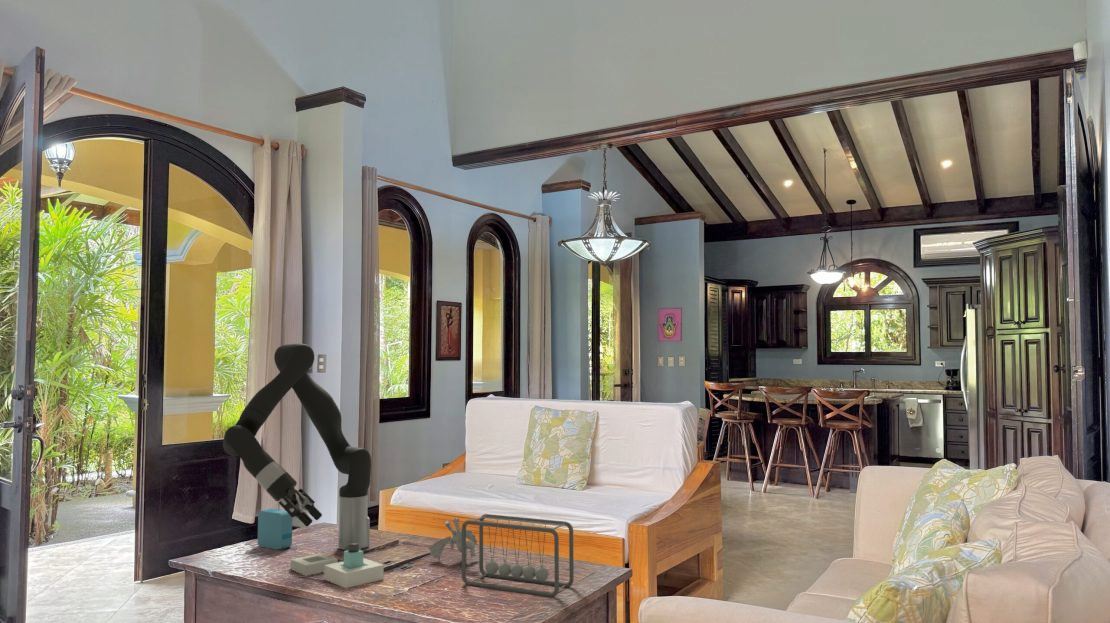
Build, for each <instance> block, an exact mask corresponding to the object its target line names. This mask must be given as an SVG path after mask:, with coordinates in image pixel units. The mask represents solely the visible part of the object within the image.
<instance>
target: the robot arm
mask: <svg viewBox="0 0 1110 623" xmlns="http://www.w3.org/2000/svg"><path fill="white" fill-rule="evenodd" d="M273 358H274V360H273V361H274V364H275V366H276V368H277V370H278V371H279V373H278V374H277V375H276V376H275V377H274V378H273V379H272V380H270V381H269V382H268V383H266V384H265V386H263V387H262V388H260V389H259V390H258V391H257V392H256V393H255V394H254V395H253V397H252V398H251V399H250V401H249V402H248V403H247V405H246V406H245V407H244V409H243V410H242V412H241V414H240V416H239V418H238V420H237V422H236V423H235V424H234V425H231V426H229V428H228V429H227V430H226V431H225V432H224V436H223V442H222V447H223V450H224V452H225V453H226V454H227V455H230V456H233V457H234V456H238V457H239V458H240V459H241V461H242V463H243V466H244V468H245V469H246V470H247V472H249V474H250V475H252V477H253V478H254V479H255V481H257V483H258V484H259V485H260V486H261V488H262V489H263V490H265V492H266V493H268V495H269V496H270V497H271V499H274V501H275V502H278V504H279V506H280V507H281V508H283V510H285V511H287V513H288V514H289V515H290V516H291V517H292V518H297V519H298V520H299V521H300V522H301V523H302V524H303V525H304V526H305V527H309V526H310V525H311V524H312V523H313V519H314V520H315V521H318V520H319V519H321V517H323V514H322V512H320V510H319V509H318V508H316V507H315V500H314V499H313V498H312V497H311V496H309V494H307V493H306V491H305V490H303V489H302V488H300V489H298V490H297V489H296V488H295V487H296V486H297V485H298V483H297V481H296V480H295V479H294V478H293V477H292V475H290V473H289V472H287V470H286V469H285V468H284V467H283V466H282V465H280V463H278V462H277V461H276V460H275V459H274V458H273V457H272V456H271V455H270V454H269V453H268V452H267V451H265V449H264V448H263V447H262V444H260V442H259V441H258V439H257V438H256V436H257V433H258V432H259V430H260V429H261V427H262V426H263V425H264V424H265V422H266V421H267V419H268V418H269V417H270V415H271V414H272V413H273V411H274V410H275V408H276V407H277V405H278V404H279V403H280V401H282V399H283V398H284V397H285V396H286V394H287V393H288V392H289V391H290V390H291V389H292V390H293V392H294V394H295V395H296V397H297V398H298V400H299V401H300V404H301V405H302V406H303V409H304V411H305V412H306V414H307V416H308V418H309V419H310V420H311V422H312V424H313V426H314V427H315V428H316V431H317V432H318V435H319V437H321V439H322V440H323V443H324V445H325V446H326V448H327V451H328V453H329V455H330V458H331V459H332V462H333V465H334V466H335V468H336V469H337V471H338V472H339V473H341V474H343V475H348V478H347V482H346V484H345V485H342V486H340V488H339V490H338V491H339V492H338V494H339V497H338V498H339V500H338V549H339V550H341V549H342V551H347V550H348V544H350V543H359V550H362V548H363V549H366V548H367V547H370V540H371V538H370V537H371V536H370V532H371V531H370V529H371V528H370V526H371V524H370V521H371V519H370V517H369V516H368V495H369V494H368V492H369V487H370V485H371V474H372V457H371V454H370V452H369V450H368V449H366V448H363V447H356V446H351V444H350V443H349V441H348V440H347V439H346V437H345V434H343V431H342V414H341V411H340V409H339V407H338V404H336V402H335V400H334V398H333V397H332V396H331V394H330V393H329V392H328V391H326V389H324V387H322V386H321V385H320V384H319V383H317V382H316V380H315V381H314V379H313V378H312V377H311V376H310V375H309V373H308V371H309V370H311V368H312V366H313V364H314V362H315V352H314V350H313V348H312V347H311V346H310V345H308V344H306V343H290V344H282V345H280V346H279V347H278V348H276V350H275V352H274V357H273ZM304 510H305V511H307V513H308V514H307V513H306V512H305V511H304ZM309 515H310V516H311V517H312V518H313V519H312V518H311V517H310V516H309Z"/></svg>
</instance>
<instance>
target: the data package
mask: <svg viewBox="0 0 1110 623" xmlns="http://www.w3.org/2000/svg"><path fill="white" fill-rule="evenodd" d="M292 543H293V517H291V516H290V515H289V514H288V513H287V511H286V510H285V509H278V508H277V509H276V508H268V509H263V510H262V509H261V510H260V511H258V515H257V545H258V547H260V548H261V547H262V548H267V549H271V548H274V549H273V550H277V549H280V550H284V549H286V548H287V547H288V548H290V547H291V546H292Z"/></svg>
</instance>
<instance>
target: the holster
mask: <svg viewBox="0 0 1110 623" xmlns="http://www.w3.org/2000/svg"><path fill="white" fill-rule="evenodd" d="M338 560H339V559H338V558H336V557H332V556H330V555H327V554H325V553H321V552H320V553H317V554H311V555H306V556H301V557H296V558H291V559H290V570H291V569H292V571H293V570H294V572H295V571H296V573H298V572H299V573H298V574H300V573H301V574H300V575H303V574H304V575H303V576H305V575H306V576H305V577H308V576H307V575H309V576H312V575H311V574H313V575H317V573H318V574H321V572H323V573H324V565H328V564H333V563H337V562H338Z"/></svg>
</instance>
